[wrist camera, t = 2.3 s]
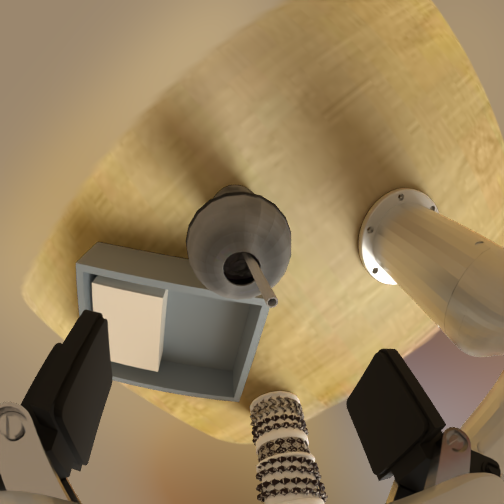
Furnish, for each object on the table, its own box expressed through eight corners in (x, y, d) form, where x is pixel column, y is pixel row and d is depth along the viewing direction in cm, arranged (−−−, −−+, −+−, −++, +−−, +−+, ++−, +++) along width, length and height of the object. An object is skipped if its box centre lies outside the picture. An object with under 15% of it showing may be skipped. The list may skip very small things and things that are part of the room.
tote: (264, 272, 34) (272, 300, 28) (236, 370, 39) (238, 401, 34) (97, 241, 31) (75, 262, 25) (101, 345, 36) (88, 373, 31)
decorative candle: (281, 425, 46) (305, 546, 23) (237, 414, 44) (248, 549, 21) (312, 396, 44) (352, 529, 20) (266, 383, 41) (293, 537, 18)
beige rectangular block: (169, 279, 32) (162, 298, 28) (162, 351, 36) (158, 371, 32) (104, 266, 31) (91, 282, 27) (107, 338, 35) (97, 357, 31)
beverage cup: (186, 195, 30) (127, 291, 11) (246, 158, 29) (283, 197, 10) (223, 250, 32) (223, 392, 14) (281, 216, 31) (352, 330, 13)
